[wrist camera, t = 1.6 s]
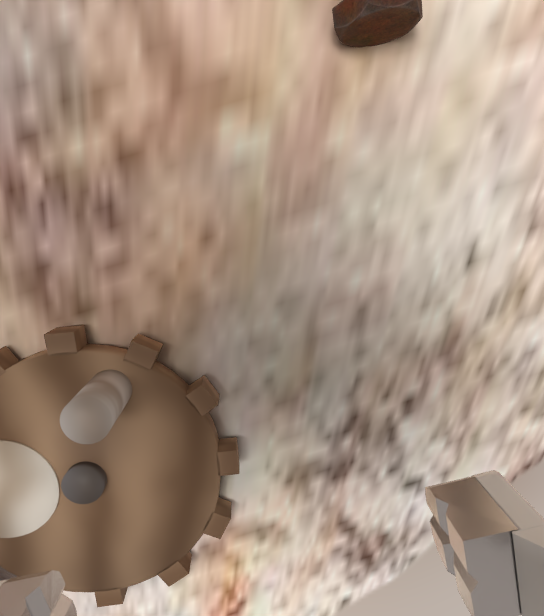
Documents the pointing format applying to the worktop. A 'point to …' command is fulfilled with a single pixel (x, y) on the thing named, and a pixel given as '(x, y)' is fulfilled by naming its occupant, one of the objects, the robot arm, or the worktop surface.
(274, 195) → the worktop surface
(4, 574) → the wood-grain grey cube
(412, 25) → the bolt
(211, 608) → the worktop surface
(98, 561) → the turntable
